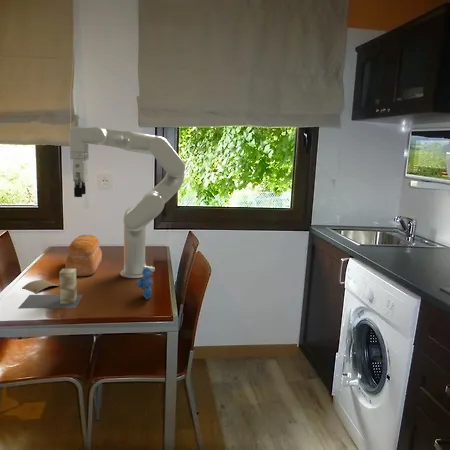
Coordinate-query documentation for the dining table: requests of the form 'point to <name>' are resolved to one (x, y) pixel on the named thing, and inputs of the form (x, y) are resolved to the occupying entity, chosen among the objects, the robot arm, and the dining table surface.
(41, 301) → the rubber mat
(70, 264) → the bread
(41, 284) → the clay tablet
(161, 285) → the dining table surface
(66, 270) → the birch block
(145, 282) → the grapes
